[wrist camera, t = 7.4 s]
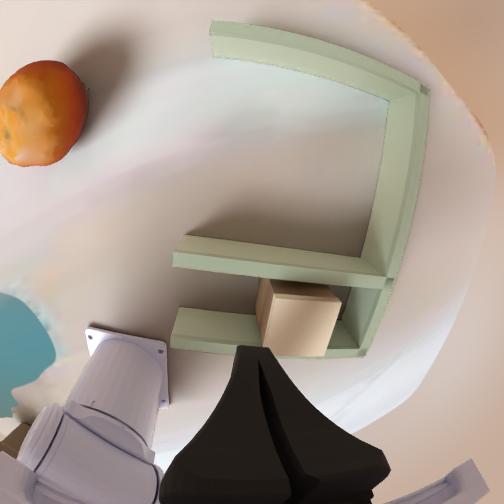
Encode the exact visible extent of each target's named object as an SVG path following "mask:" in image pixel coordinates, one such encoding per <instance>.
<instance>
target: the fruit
mask: <svg viewBox="0 0 504 504" xmlns="http://www.w3.org/2000/svg"><path fill="white" fill-rule="evenodd" d="M89 89H90V88H87V87H86V86H85V84H84V83H83V82H81V80H80V79H79V78H78V76H77V75H76V74H75V73H74V72H73V71H72V70H71V69H70V68H69V67H68V66H67V65H65V64H64V63H62V62H58V61H50V60H43V61H37V62H33V63H30V64H28V65H26V66H24V67H22V68H20V69H19V70H18V71H17V72H16V73H15V74H13V75H12V76H11V77H10V78H9V79H8V80H7V81H6V82H5V83H4V85H3V87H2V88H1V90H0V153H1V154H2V156H3V157H4V158H5V159H6V160H7V161H8V162H9V163H11V164H15V165H18V166H21V167H29V166H48V165H51V164H53V163H55V162H58V161H59V160H61V159H62V158H63V157H64V156H65V155H66V154H67V153H68V152H69V150H70V149H71V148H72V146H73V145H74V144H75V143H76V142H77V140H78V138H79V137H80V134H81V132H82V129H83V126H84V122H85V120H86V117H87V114H88V95H87V93H88V90H89Z"/></svg>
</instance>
